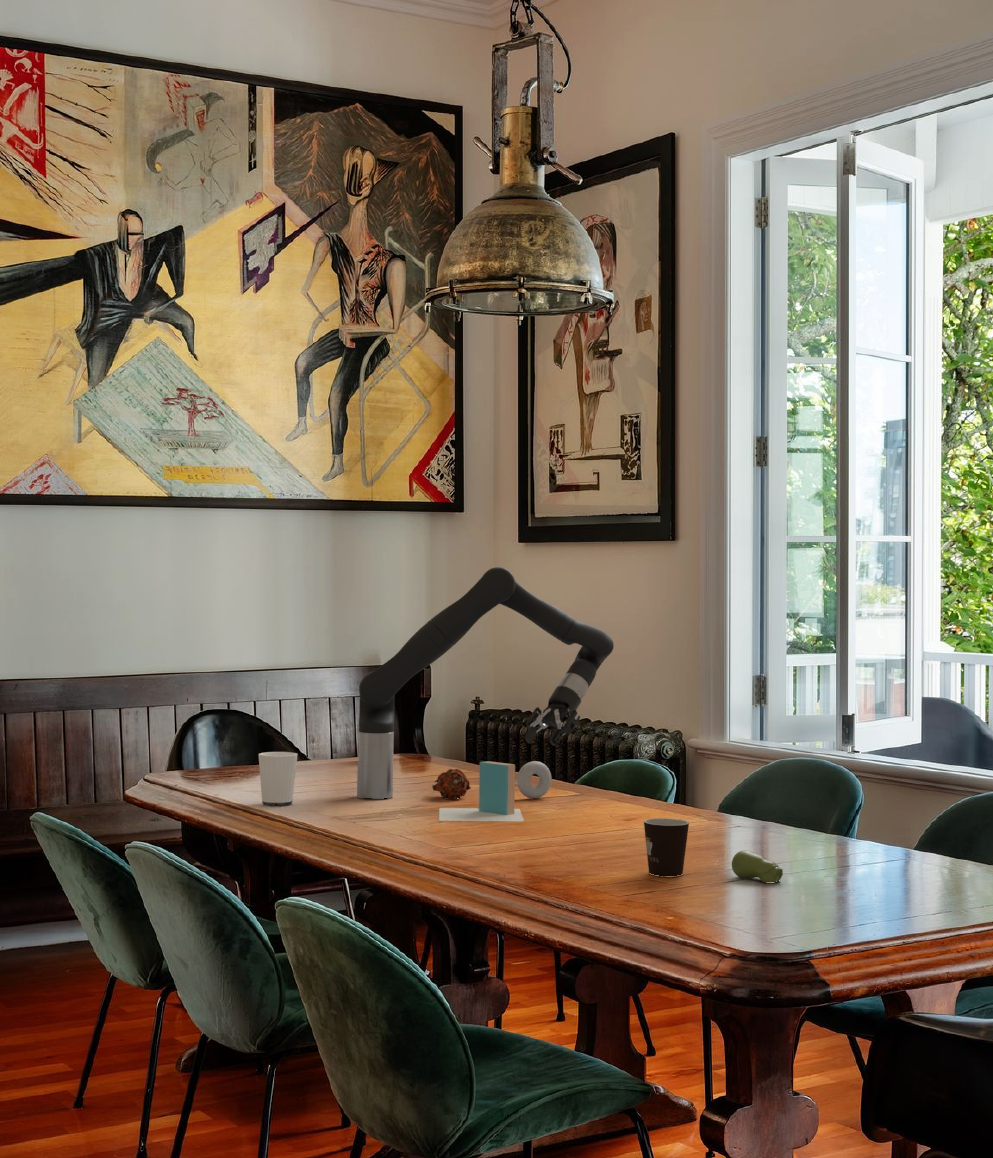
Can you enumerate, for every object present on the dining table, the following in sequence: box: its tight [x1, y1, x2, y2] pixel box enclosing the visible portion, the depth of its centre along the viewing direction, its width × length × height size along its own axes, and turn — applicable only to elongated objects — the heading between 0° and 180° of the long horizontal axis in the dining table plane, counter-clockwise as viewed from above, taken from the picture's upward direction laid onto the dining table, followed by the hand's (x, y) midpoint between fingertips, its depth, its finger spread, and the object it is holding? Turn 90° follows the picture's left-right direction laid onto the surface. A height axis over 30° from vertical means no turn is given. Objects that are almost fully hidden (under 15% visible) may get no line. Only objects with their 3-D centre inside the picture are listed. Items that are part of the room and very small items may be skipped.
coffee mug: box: [643, 817, 690, 876], centre depth 263 cm, size 12×9×10 cm
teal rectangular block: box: [478, 761, 516, 815], centre depth 334 cm, size 3×9×12 cm, turn 47°
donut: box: [516, 760, 552, 800], centre depth 361 cm, size 10×4×10 cm, turn 117°
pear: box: [731, 849, 784, 883], centre depth 257 cm, size 6×5×10 cm
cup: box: [258, 751, 298, 807], centre depth 345 cm, size 10×10×13 cm
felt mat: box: [438, 807, 525, 823], centre depth 330 cm, size 20×20×1 cm
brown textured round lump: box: [432, 768, 472, 800], centre depth 360 cm, size 8×8×12 cm
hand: (539, 742), depth 345 cm, fingers open, 8 cm apart
